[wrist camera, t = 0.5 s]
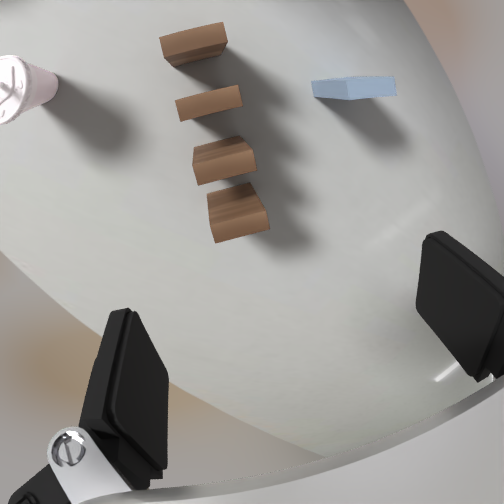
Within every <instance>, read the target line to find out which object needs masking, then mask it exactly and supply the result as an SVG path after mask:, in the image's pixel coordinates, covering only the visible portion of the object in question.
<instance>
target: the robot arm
mask: <svg viewBox="0 0 504 504" xmlns="http://www.w3.org/2000/svg"><path fill="white" fill-rule="evenodd" d="M416 309H417V312H418V313H419V314H420V316H421V317H422V318H423V319H424V320H425V322H426V323H427V324H428V325H429V326H430V328H431V329H432V330H433V331H434V332H435V334H436V335H437V336H438V337H439V339H440V340H441V341H442V342H443V343H444V345H445V346H446V347H447V348H448V350H449V351H450V352H451V354H452V355H453V356H454V357H455V359H456V360H457V361H458V362H459V364H460V365H461V366H462V368H463V369H464V370H465V372H466V373H467V374H468V375H469V376H473V377H474V379H475V380H476V381H477V383H478V382H480V381H481V380H483V379H485V378H486V377H488V376H489V374H490V372H491V373H492V374H493V376H494V377H493V382H492V383H490V384H489V385H487V386H485V387H484V388H482V389H480V390H479V391H477V392H475V393H474V394H472V395H470V396H468V397H467V398H465V399H463V400H461V401H460V402H458V403H456V404H454V405H452V406H450V407H448V408H447V409H445V410H443V411H441V412H439V413H437V414H435V415H433V416H431V417H429V418H427V419H425V420H423V421H420V422H418V423H416V424H414V425H412V426H410V427H407V428H405V429H403V430H401V431H398V432H396V433H394V434H391V435H389V436H386V437H384V438H381V439H379V440H376V441H374V442H371V443H368V444H366V445H363V446H360V447H357V448H355V449H352V450H349V451H346V452H343V453H340V454H337V455H334V456H330V457H327V458H324V459H321V460H317V461H314V462H310V463H307V464H303V465H300V466H296V467H292V468H288V469H283V470H279V471H275V472H270V473H266V474H261V475H256V476H251V477H245V478H240V479H234V480H228V481H221V482H215V483H208V484H200V485H192V486H183V487H171V488H160V489H149V488H148V487H149V486H150V479H163V470H165V469H167V464H168V463H167V462H168V461H167V460H168V458H167V435H168V434H167V432H168V429H167V428H168V388H169V377H168V372H167V370H166V368H165V366H164V364H163V362H162V360H161V358H160V357H159V355H158V353H157V351H156V349H155V347H154V345H153V343H152V341H151V339H150V337H149V335H148V333H147V331H146V329H145V327H144V325H143V323H142V321H141V319H140V317H139V315H138V313H137V312H136V311H134V312H132V311H131V310H130V309H129V308H125V309H120V310H115V311H112V312H111V313H110V315H109V318H108V322H107V325H106V328H105V331H104V335H103V338H102V341H101V345H100V348H99V352H98V355H97V358H96V359H95V362H94V365H93V369H92V372H91V376H90V380H89V384H88V388H87V392H86V396H85V400H84V404H83V408H82V413H81V417H80V422H79V427H72V426H71V427H67V428H64V429H62V430H60V431H58V433H56V434H55V435H54V436H53V438H52V439H51V441H50V442H49V445H48V449H47V458H48V461H49V464H48V465H47V466H46V467H44V468H43V469H42V470H41V471H40V472H38V473H37V474H36V475H35V476H34V477H32V478H31V479H30V480H29V481H27V482H26V483H25V484H24V485H23V486H21V487H20V488H19V489H18V490H17V491H16V492H14V493H13V495H12V496H11V498H10V499H9V502H8V504H504V277H503V276H502V275H501V274H500V273H498V272H497V271H496V270H495V269H493V268H492V267H491V266H490V265H488V264H487V263H486V262H485V261H483V260H482V259H481V258H479V257H478V256H477V255H476V254H474V253H473V252H472V251H470V250H469V249H468V248H466V247H465V246H464V245H462V244H461V243H460V242H458V241H457V240H455V239H454V238H453V237H451V236H450V235H449V234H447V233H446V232H444V231H437V232H434V233H430V234H428V235H427V236H426V238H425V240H424V241H423V244H422V254H421V264H420V273H419V282H418V289H417V297H416Z"/></svg>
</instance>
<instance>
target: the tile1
mask: <svg viewBox="0 0 504 504" xmlns="http://www.w3.org/2000/svg"><path fill="white" fill-rule="evenodd" d="M311 83H312V88H313V93H314V97H323V98H334V99H344V100H354V99H363V98H373V97H384V96H397V94H396V86H395V79H394V77H346V78H336V79H327V80H319V81H311Z"/></svg>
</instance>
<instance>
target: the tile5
mask: <svg viewBox="0 0 504 504" xmlns="http://www.w3.org/2000/svg"><path fill="white" fill-rule="evenodd" d="M207 201H208V211H209V221H210V227H211V231H212V234H213V238H214V241H215V243H219V242H223V241H227V240H230V239H234V238H238V237H242V236H245V235H249V234H253V233H257V232H261V231H264V230H268V229H270V227H269V222H268V217H267V213H266V210H265V208H264V206H263V204H262V203H261V201H260V199H259V197H258V195H257V194H256V192H255V190H254V188H253V187H252V185H251V183H246V184H242V185H239V186H235V187H231V188H227V189H223V190H219V191H216V192H212V193H208V194H207Z"/></svg>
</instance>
